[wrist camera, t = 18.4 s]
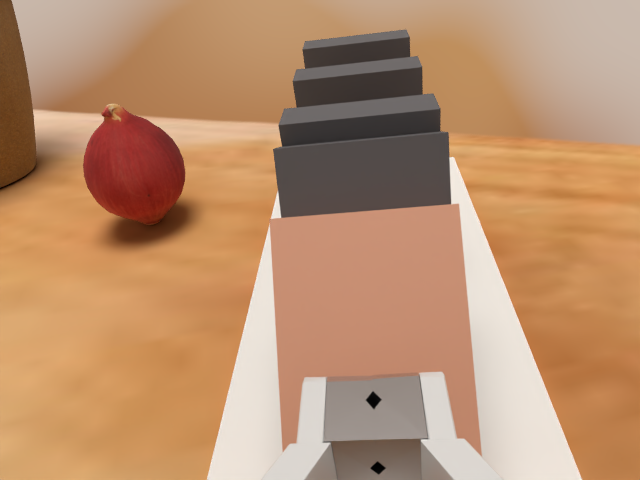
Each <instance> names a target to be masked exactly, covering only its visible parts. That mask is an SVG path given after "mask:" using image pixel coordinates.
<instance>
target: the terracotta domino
mask: <svg viewBox="0 0 640 480" xmlns="http://www.w3.org/2000/svg"><path fill="white" fill-rule="evenodd" d="M270 237H271V255H272V272H273V290H274V308H275V326H276V343H277V361H278V379H279V397H280V415H281V432H282V450H283V451H284V450H285V449H286V448H287V446H288V445H289V444H293V443H296V442H297V432H298V422H299V412H300V402H301V392H302V383H303V381H304V378H305V377H328V376H373V375H380V374H398V373H416V372H418V374H419V373H423V372H443V374H444V375H445V380H446V385H447V390H448V395H449V400H450V405H451V410H452V415H453V420H454V425H455V430H456V435H457V439H465V440H466V441H467V442H468V443H469V444H470V445H471V446H472V447H473V448H474V449H475V450H476V451H477V452H478V453H479V454H480V455H481V456H482V452H481V441H480V429H479V418H478V407H477V396H476V385H475V374H474V363H473V352H472V341H471V330H470V319H469V308H468V297H467V286H466V275H465V264H464V253H463V242H462V231H461V220H460V209H459V204H448V205H435V206H423V207H410V208H398V209H386V210H373V211H361V212H348V213H336V214H323V215H311V216H299V217H286V218H274V219H270Z"/></svg>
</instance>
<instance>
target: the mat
mask: <svg viewBox="0 0 640 480" xmlns="http://www.w3.org/2000/svg"><path fill="white" fill-rule="evenodd" d="M449 160H450V184H451V204H459V209H460V220H461V231H462V242H463V253H464V264H465V275H466V286H467V297H468V308H469V319H470V330H471V341H472V352H473V363H474V374H475V385H476V396H477V407H478V418H479V429H480V441H481V452H482V457H483V458H484V460H485V461H486V462H487V463H488V464H489V465H490V466H491V467H492V468H493V469H494V470H495V471H496V472H497V473H498V474H499V475H500V476H501V477H502V478H503V479H504V480H582V478H581V476H580V473H579V471H578V468H577V466H576V463H575V461H574V458H573V456H572V453H571V451H570V448H569V446H568V443H567V441H566V438H565V436H564V433H563V431H562V428H561V426H560V423H559V421H558V418H557V416H556V413H555V411H554V408H553V406H552V403H551V400H550V398H549V395H548V393H547V390H546V388H545V385H544V383H543V380H542V378H541V375H540V373H539V370H538V368H537V365H536V363H535V360H534V358H533V355H532V353H531V350H530V348H529V345H528V343H527V340H526V338H525V335H524V333H523V330H522V328H521V325H520V322H519V320H518V317H517V315H516V312H515V310H514V307H513V305H512V302H511V300H510V297H509V295H508V292H507V290H506V287H505V285H504V282H503V280H502V277H501V275H500V272H499V270H498V267H497V265H496V262H495V260H494V257H493V255H492V252H491V249H490V247H489V244H488V242H487V239H486V237H485V234H484V232H483V229H482V227H481V224H480V222H479V219H478V217H477V214H476V212H475V209H474V207H473V204H472V202H471V199H470V197H469V194H468V192H467V189H466V187H465V184H464V182H463V179H462V177H461V174H460V171H459V169H458V166H457V164H456V161H455V159H454V157H449ZM274 218H281V212H280V203H279V194H278V192H277V196H276V200H275V204H274V208H273V212H272V216H271V219H274ZM282 453H283V450H282V432H281V415H280V397H279V379H278V361H277V343H276V326H275V308H274V290H273V272H272V255H271V237H270V225H269V229H268V233H267V237H266V241H265V245H264V249H263V253H262V257H261V261H260V265H259V269H258V274H257V278H256V282H255V286H254V290H253V294H252V298H251V302H250V306H249V310H248V314H247V318H246V322H245V327H244V331H243V335H242V339H241V343H240V347H239V351H238V355H237V359H236V363H235V367H234V371H233V375H232V380H231V384H230V388H229V392H228V396H227V400H226V404H225V408H224V412H223V416H222V420H221V424H220V428H219V433H218V437H217V441H216V445H215V449H214V453H213V457H212V461H211V465H210V469H209V473H208V477H207V480H261V479H262V478H263V476H264V475H265V474H266V473H267V471H268V470H269V469H270V468H271V466H272V465H273V464H274V463H275V461H276V460H277V459H278V458H279V456H280V455H281V454H282Z"/></svg>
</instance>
